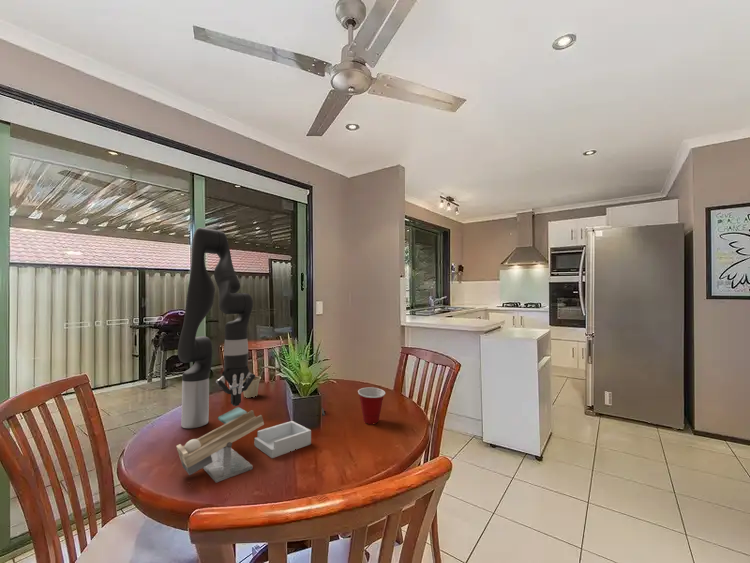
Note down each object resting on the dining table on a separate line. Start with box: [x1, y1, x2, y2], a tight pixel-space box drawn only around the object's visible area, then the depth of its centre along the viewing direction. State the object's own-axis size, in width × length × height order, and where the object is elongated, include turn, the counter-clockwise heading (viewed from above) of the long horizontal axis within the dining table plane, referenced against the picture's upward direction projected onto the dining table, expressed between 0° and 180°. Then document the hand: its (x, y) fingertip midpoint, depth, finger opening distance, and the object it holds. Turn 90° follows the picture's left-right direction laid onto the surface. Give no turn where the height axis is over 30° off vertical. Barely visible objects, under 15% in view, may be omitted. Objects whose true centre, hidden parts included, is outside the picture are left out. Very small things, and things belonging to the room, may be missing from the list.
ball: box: [184, 438, 201, 454], centre depth 93 cm, size 4×4×4 cm
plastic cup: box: [357, 386, 386, 425], centre depth 132 cm, size 11×11×12 cm
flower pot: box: [242, 375, 262, 399], centre depth 166 cm, size 9×9×9 cm
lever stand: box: [202, 446, 253, 484], centre depth 99 cm, size 16×10×6 cm, turn 44°
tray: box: [253, 420, 312, 459], centre depth 112 cm, size 12×14×4 cm
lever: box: [176, 406, 265, 476], centre depth 103 cm, size 20×22×6 cm
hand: (235, 405), depth 112 cm, fingers closed
